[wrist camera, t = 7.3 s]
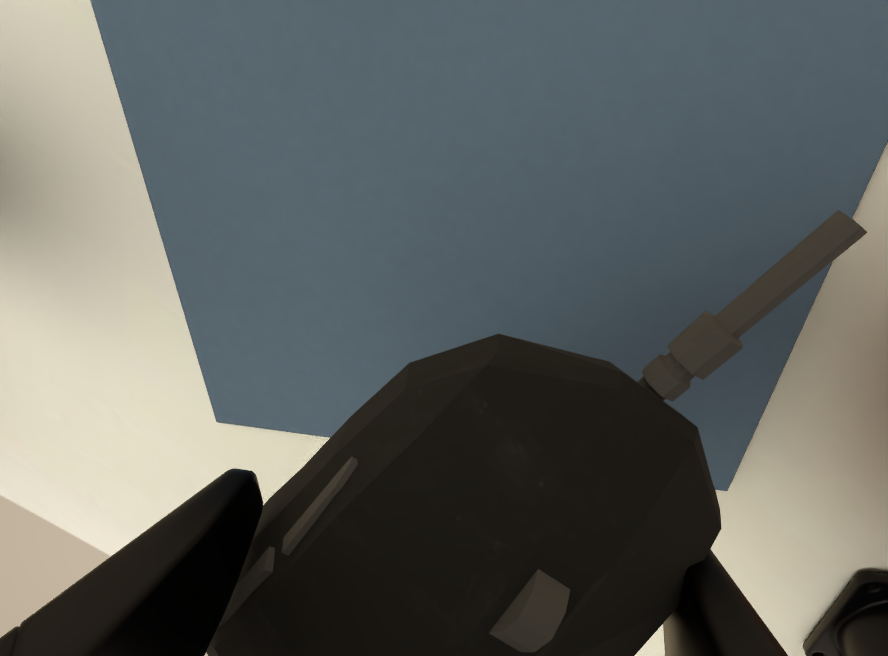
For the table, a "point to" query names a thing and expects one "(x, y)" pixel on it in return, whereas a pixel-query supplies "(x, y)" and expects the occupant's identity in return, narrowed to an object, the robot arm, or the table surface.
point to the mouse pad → (491, 182)
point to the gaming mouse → (502, 501)
